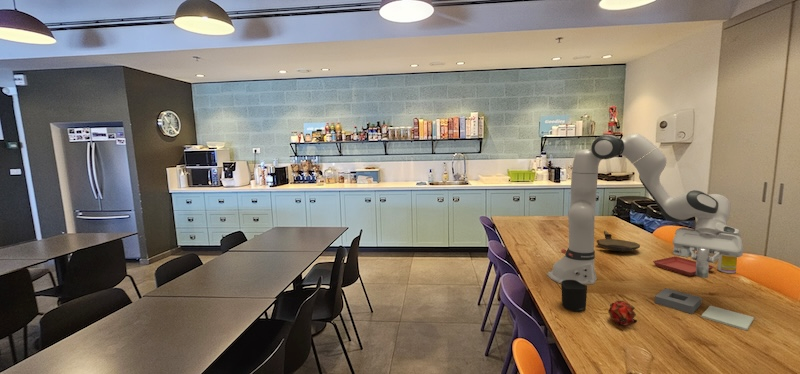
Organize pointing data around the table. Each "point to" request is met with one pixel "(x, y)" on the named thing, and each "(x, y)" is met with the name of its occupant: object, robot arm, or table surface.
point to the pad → (728, 317)
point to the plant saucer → (678, 265)
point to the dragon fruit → (622, 313)
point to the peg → (702, 262)
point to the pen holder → (573, 295)
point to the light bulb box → (682, 252)
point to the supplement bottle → (727, 264)
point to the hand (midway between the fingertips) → (702, 260)
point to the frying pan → (616, 244)
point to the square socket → (678, 300)
